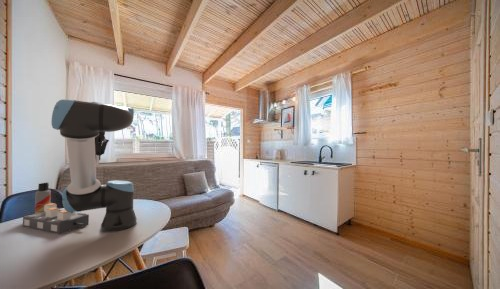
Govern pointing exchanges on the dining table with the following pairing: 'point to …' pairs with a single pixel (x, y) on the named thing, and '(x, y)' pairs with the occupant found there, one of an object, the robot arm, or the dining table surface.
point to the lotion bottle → (42, 197)
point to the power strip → (55, 222)
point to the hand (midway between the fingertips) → (96, 165)
